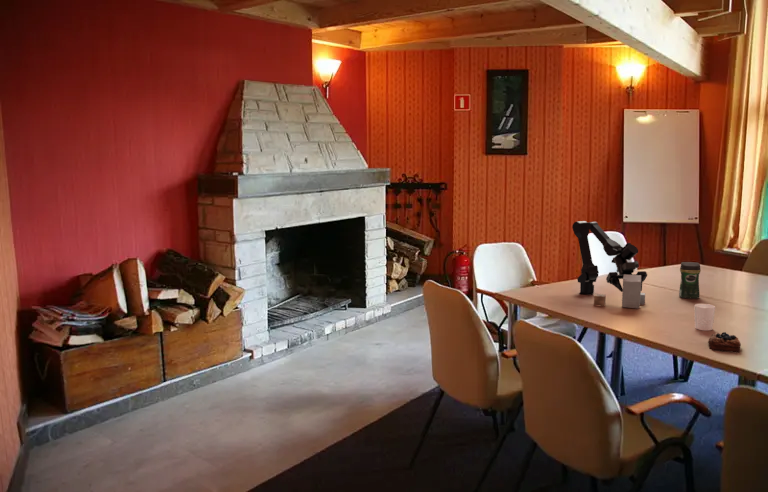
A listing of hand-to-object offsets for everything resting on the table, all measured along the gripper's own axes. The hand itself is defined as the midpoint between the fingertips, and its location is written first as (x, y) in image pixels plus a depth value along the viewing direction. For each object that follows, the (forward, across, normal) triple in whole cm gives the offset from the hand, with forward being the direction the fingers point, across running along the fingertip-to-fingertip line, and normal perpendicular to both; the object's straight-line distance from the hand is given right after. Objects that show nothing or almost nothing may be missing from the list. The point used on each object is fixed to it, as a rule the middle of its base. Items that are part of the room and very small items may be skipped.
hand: (631, 291), depth 304 cm
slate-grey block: (-1, +8, +12) cm, 15 cm away
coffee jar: (-7, +39, +19) cm, 44 cm away
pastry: (+53, +8, -38) cm, 65 cm away
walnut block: (0, -12, +12) cm, 17 cm away
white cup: (+34, +14, -20) cm, 42 cm away
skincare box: (+4, 0, +7) cm, 8 cm away
